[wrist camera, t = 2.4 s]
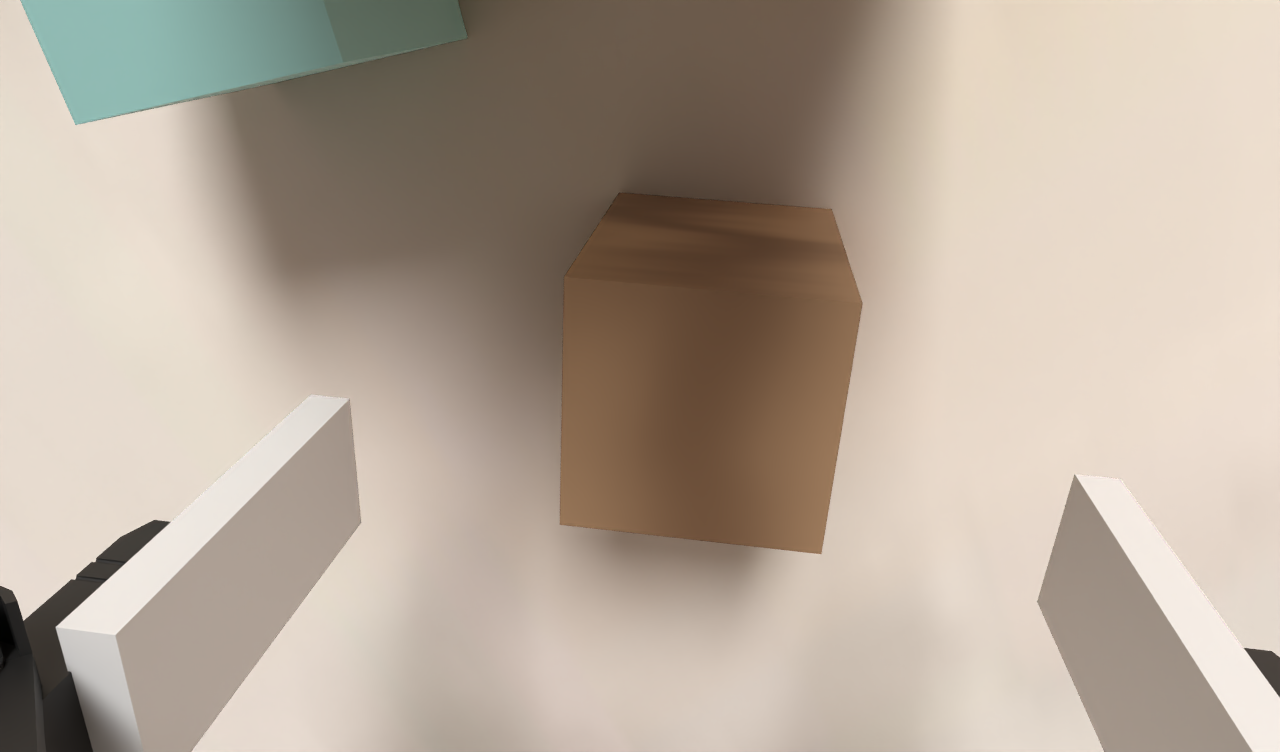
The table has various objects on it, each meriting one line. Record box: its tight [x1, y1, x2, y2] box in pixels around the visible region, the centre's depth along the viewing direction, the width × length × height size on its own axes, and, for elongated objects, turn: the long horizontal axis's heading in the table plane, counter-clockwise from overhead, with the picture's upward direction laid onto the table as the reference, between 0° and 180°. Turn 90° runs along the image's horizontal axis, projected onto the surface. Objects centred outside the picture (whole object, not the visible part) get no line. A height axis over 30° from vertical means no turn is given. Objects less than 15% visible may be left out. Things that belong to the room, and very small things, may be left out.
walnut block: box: [560, 193, 862, 554], centre depth 23 cm, size 6×6×8 cm
